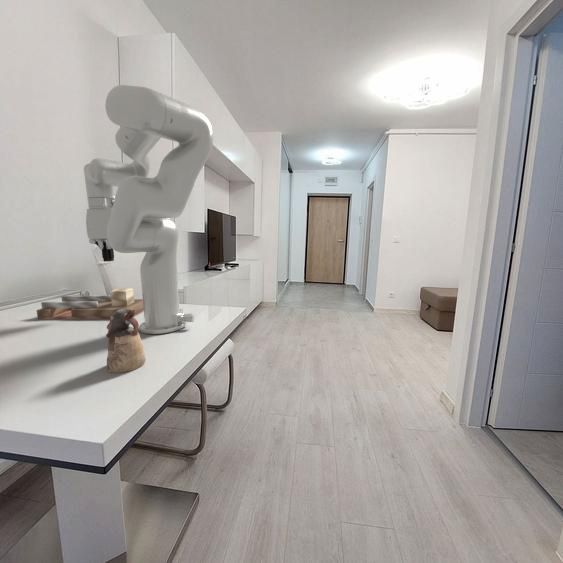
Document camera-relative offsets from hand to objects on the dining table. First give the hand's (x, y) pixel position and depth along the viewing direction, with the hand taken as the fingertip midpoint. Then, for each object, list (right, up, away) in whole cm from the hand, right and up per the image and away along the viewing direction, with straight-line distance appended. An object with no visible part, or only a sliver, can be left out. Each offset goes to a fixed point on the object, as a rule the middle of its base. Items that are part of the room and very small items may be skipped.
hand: (108, 261), depth 96 cm
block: (+3, -15, +3) cm, 15 cm away
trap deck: (-6, -18, +3) cm, 19 cm away
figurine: (+26, -25, -36) cm, 51 cm away
